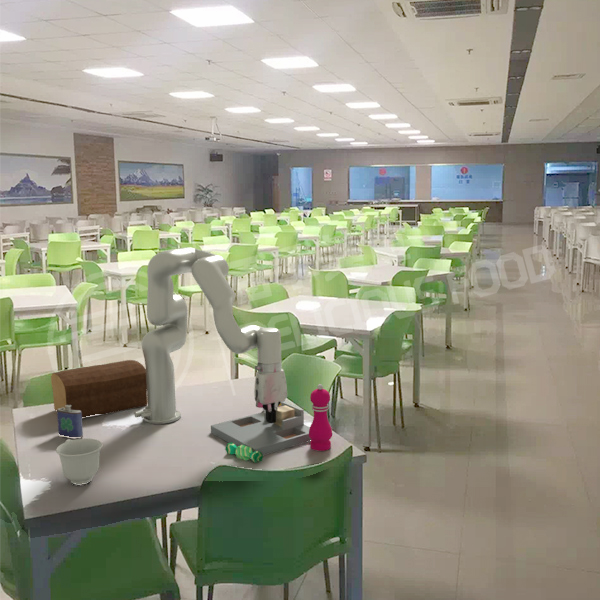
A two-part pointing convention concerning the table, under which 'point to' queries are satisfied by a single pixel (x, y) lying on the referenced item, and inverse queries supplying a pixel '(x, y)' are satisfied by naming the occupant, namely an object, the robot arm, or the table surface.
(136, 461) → the table surface
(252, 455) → the candy
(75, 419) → the flask
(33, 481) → the table surface
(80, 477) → the teacup
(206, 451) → the table surface
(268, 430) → the plate
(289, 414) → the block
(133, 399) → the bread
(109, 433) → the table surface
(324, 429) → the pepper mill
